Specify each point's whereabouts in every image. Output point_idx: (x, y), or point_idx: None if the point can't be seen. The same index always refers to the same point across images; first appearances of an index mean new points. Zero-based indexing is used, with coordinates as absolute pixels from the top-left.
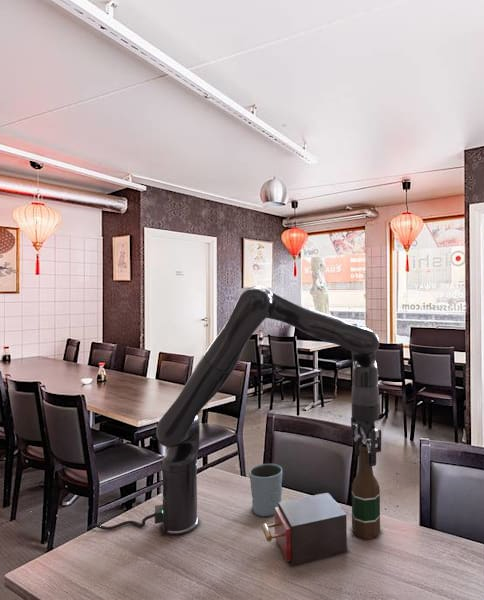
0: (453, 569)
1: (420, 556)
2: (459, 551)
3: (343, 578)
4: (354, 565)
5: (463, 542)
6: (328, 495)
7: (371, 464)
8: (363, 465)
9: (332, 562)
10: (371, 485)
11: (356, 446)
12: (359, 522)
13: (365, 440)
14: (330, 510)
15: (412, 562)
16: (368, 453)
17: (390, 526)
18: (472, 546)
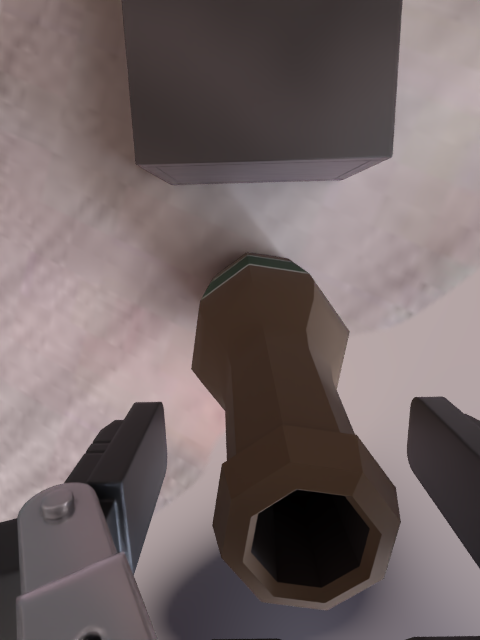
0: (11, 442)
1: (84, 393)
2: None
3: (45, 117)
4: (96, 180)
5: None
6: (357, 144)
7: (111, 426)
8: (244, 378)
9: None
10: (198, 365)
11: (469, 448)
12: (229, 267)
13: (23, 636)
14: (199, 93)
15: (65, 358)
16: (101, 475)
17: None
18: None
